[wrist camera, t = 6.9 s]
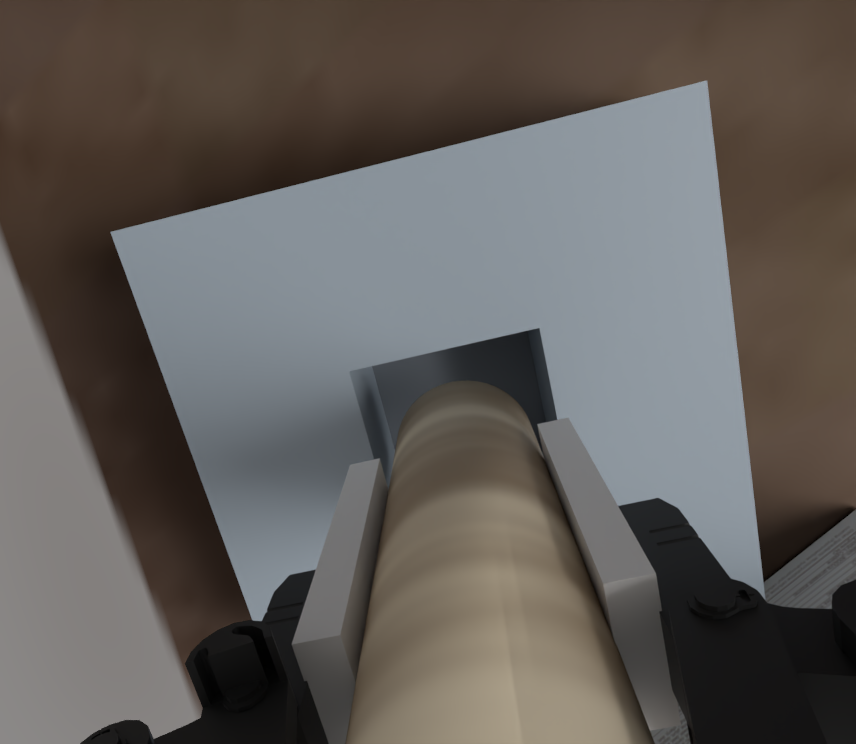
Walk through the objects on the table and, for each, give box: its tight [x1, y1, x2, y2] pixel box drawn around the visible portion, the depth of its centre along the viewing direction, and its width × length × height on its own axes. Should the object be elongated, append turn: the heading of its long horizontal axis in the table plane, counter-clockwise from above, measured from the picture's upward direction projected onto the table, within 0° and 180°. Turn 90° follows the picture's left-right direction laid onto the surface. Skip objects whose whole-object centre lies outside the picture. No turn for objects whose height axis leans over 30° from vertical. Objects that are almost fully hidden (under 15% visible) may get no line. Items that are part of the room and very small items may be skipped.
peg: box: [345, 380, 655, 744], centre depth 12 cm, size 4×4×14 cm
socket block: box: [111, 81, 765, 621], centre depth 21 cm, size 16×16×5 cm
